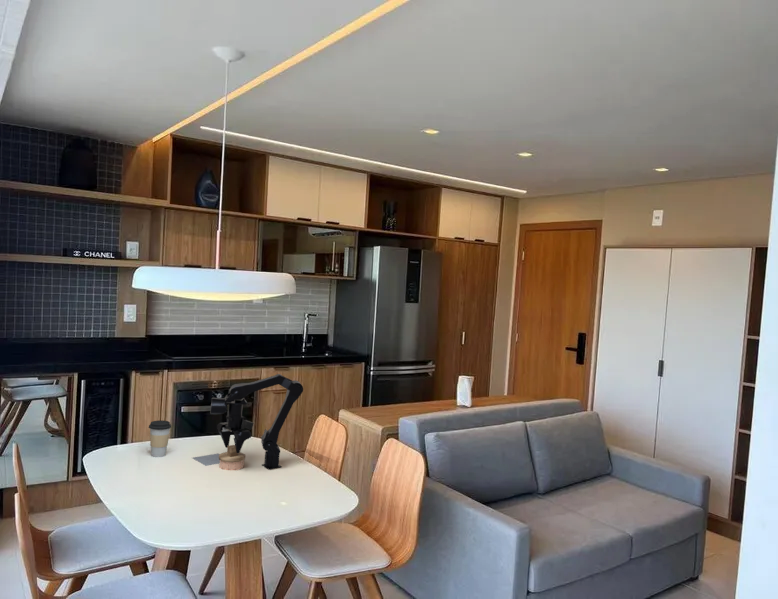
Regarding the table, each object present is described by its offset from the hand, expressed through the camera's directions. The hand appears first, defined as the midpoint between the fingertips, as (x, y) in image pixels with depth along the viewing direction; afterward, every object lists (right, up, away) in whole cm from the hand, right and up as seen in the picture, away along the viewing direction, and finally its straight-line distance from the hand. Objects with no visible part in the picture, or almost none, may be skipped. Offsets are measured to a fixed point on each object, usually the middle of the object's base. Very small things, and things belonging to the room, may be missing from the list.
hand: (232, 450), depth 252 cm
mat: (-11, -6, +8) cm, 15 cm away
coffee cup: (-35, -5, +8) cm, 36 cm away
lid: (0, -4, 0) cm, 4 cm away
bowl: (0, -7, 0) cm, 8 cm away
